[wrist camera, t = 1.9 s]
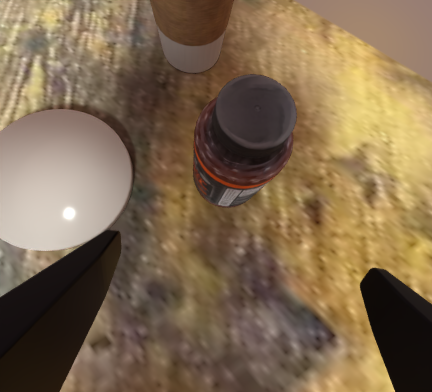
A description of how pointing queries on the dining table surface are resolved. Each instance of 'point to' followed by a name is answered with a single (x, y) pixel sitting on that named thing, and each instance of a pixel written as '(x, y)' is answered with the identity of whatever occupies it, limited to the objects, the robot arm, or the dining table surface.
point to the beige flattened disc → (61, 179)
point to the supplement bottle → (243, 139)
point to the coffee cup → (191, 31)
